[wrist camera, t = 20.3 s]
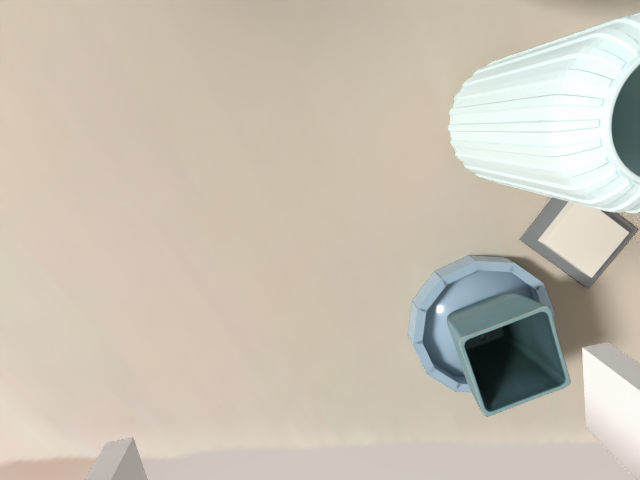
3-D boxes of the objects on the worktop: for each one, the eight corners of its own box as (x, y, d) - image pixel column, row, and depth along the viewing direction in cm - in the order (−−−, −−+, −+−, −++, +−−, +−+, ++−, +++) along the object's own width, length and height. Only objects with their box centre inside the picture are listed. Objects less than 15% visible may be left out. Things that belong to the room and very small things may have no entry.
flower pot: (504, 273, 49) (550, 304, 40) (525, 342, 51) (573, 386, 42) (428, 302, 49) (457, 339, 40) (452, 369, 51) (484, 418, 42)
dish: (382, 339, 50) (386, 349, 48) (466, 229, 48) (474, 234, 46) (485, 403, 53) (493, 415, 51) (569, 302, 51) (581, 310, 49)
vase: (520, 194, 47) (709, 249, 26) (422, 156, 46) (535, 179, 24) (571, 87, 45) (825, 49, 23) (469, 43, 44) (640, -42, 22)
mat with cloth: (519, 239, 49) (526, 243, 47) (568, 177, 47) (577, 179, 46) (586, 287, 50) (595, 292, 49) (634, 229, 49) (645, 232, 47)
